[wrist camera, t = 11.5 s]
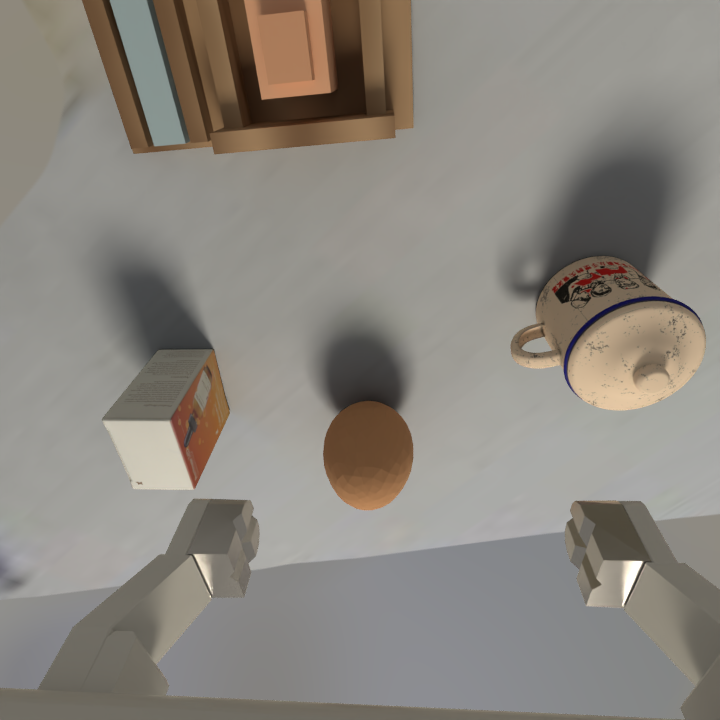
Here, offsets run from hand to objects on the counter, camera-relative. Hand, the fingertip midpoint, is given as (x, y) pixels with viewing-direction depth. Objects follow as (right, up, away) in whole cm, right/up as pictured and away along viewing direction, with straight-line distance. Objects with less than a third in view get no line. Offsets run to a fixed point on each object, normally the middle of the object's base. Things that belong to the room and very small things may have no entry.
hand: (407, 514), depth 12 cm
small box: (-18, +2, +34) cm, 38 cm away
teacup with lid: (+17, +9, +27) cm, 33 cm away
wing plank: (-15, +24, +17) cm, 33 cm away
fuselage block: (-5, +25, +16) cm, 30 cm away
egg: (0, -1, +35) cm, 35 cm away
